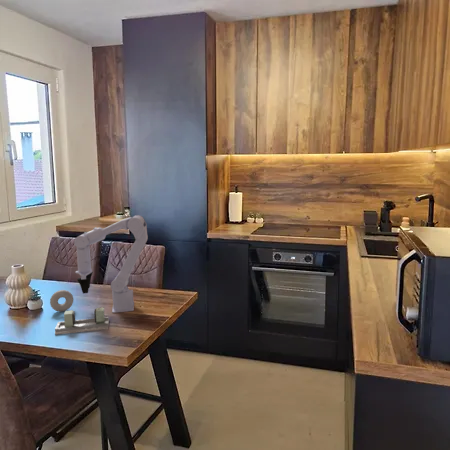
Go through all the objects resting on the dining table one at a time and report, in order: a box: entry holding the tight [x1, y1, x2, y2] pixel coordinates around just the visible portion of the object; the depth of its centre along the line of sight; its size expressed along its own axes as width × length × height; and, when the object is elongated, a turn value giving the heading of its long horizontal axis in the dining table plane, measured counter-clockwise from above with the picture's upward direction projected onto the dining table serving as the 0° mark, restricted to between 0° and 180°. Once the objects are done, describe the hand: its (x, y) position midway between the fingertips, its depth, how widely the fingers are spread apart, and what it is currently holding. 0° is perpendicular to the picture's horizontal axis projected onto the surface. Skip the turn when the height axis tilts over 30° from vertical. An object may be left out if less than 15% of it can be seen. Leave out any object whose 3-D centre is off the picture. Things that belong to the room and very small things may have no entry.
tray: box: [54, 306, 110, 335], centre depth 163 cm, size 20×9×7 cm, turn 104°
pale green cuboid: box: [63, 310, 76, 327], centre depth 162 cm, size 4×4×6 cm
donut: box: [49, 289, 74, 312], centre depth 181 cm, size 10×4×10 cm, turn 121°
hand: (86, 290), depth 181 cm, fingers open, 7 cm apart
